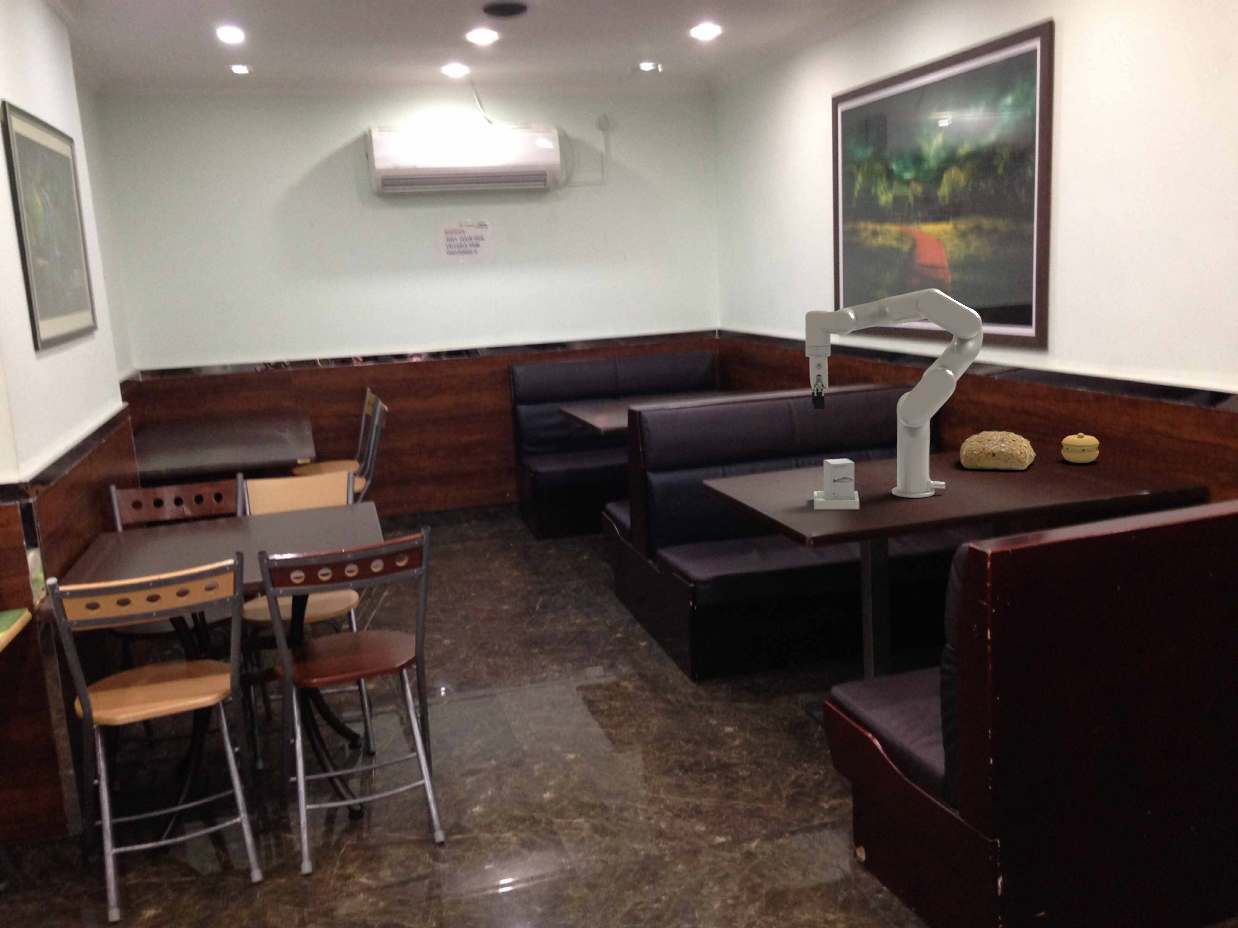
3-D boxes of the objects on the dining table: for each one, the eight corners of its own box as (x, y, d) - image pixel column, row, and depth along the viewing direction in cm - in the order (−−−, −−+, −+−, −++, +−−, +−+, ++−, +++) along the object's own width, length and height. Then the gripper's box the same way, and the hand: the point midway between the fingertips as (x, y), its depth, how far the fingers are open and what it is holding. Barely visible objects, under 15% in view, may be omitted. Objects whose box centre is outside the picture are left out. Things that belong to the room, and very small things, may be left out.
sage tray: (857, 498, 316) (857, 490, 316) (859, 509, 304) (859, 500, 303) (814, 499, 319) (814, 491, 318) (814, 509, 306) (814, 501, 306)
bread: (956, 471, 349) (957, 436, 347) (962, 458, 369) (963, 425, 366) (1034, 473, 340) (1035, 437, 338) (1036, 460, 359) (1037, 426, 357)
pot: (1053, 461, 357) (1054, 432, 355) (1081, 457, 360) (1082, 429, 358) (1077, 466, 346) (1078, 437, 344) (1106, 463, 349) (1107, 434, 347)
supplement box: (830, 505, 307) (830, 463, 305) (823, 500, 314) (822, 459, 312) (855, 503, 308) (854, 462, 305) (846, 498, 315) (846, 457, 313)
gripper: (832, 353, 309) (832, 410, 313) (828, 348, 326) (828, 402, 329) (806, 354, 310) (807, 410, 314) (804, 349, 327) (804, 402, 330)
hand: (818, 406), depth 321 cm, fingers open, 9 cm apart
